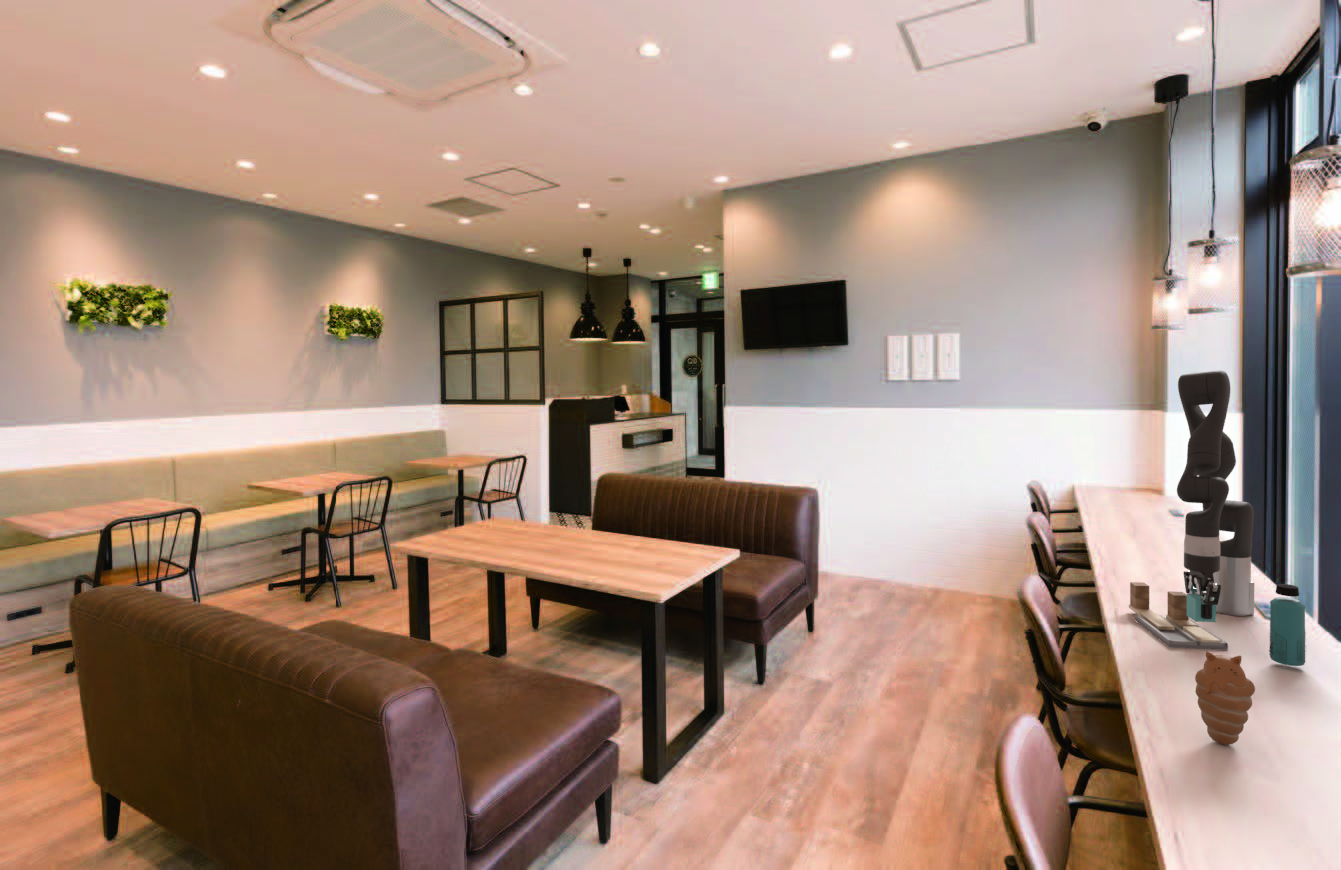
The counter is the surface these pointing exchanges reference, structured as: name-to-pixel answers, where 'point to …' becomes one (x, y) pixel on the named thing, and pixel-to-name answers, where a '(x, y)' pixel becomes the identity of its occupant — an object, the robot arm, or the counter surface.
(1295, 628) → the beverage bottle
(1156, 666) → the counter surface
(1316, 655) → the counter surface
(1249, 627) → the counter surface
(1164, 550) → the counter surface
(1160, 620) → the cube strip
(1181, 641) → the lane board
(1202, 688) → the cat ice cream
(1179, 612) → the short strip
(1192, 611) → the teal cube
